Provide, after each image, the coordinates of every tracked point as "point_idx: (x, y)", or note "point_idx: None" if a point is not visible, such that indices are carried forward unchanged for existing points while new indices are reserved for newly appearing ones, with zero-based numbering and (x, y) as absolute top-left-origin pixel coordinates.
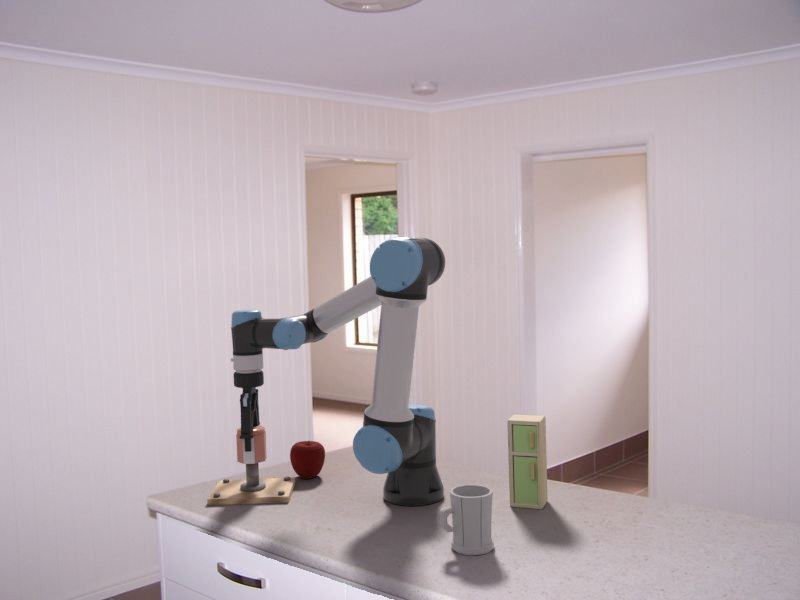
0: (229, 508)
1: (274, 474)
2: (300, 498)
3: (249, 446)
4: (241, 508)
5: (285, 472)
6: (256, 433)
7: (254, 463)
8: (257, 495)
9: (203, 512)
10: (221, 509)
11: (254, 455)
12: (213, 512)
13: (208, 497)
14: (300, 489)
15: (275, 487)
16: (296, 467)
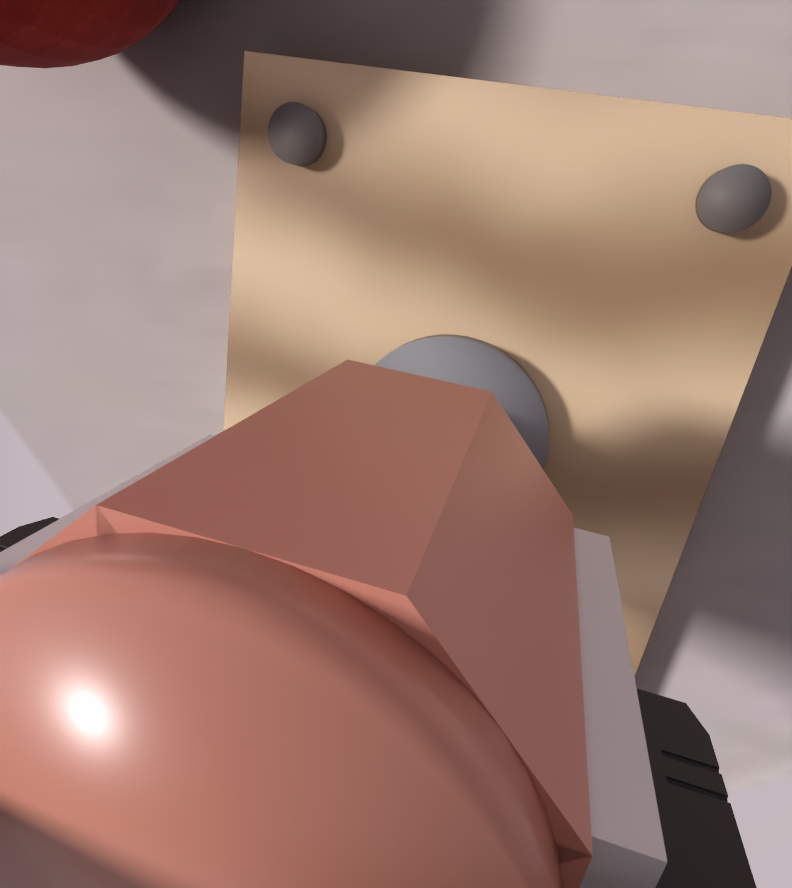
0: (743, 601)
1: (43, 242)
2: (743, 8)
3: (722, 804)
4: (787, 528)
5: (2, 153)
6: (542, 860)
7: (605, 536)
8: (671, 415)
9: (750, 747)
10: (740, 648)
11: (581, 581)
12: (783, 699)
13: None
14: (459, 12)
15: (497, 250)
16: (145, 9)
